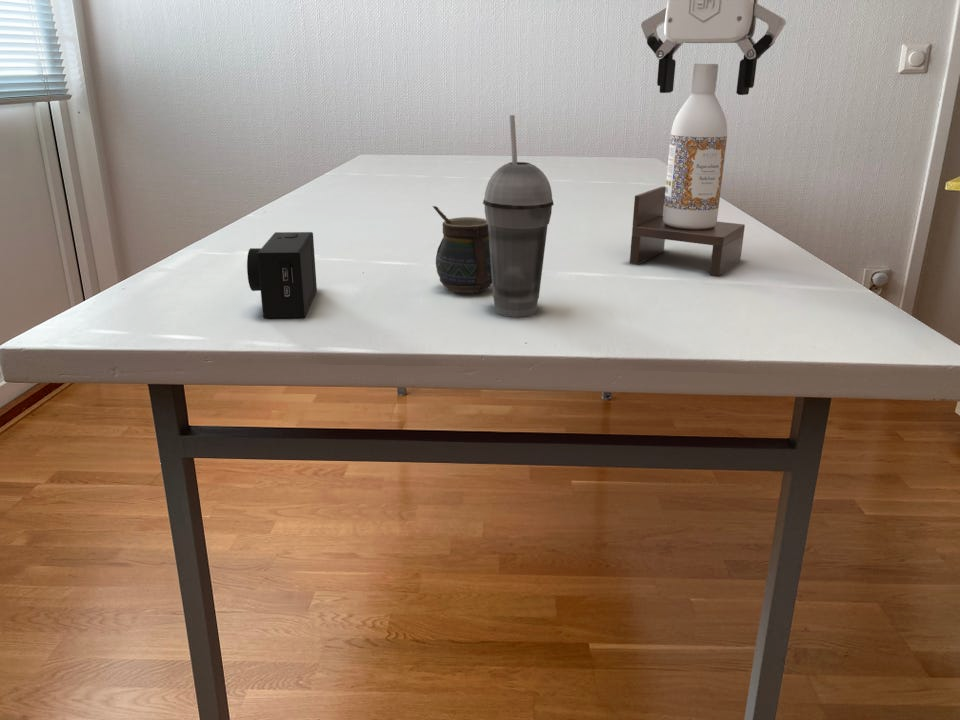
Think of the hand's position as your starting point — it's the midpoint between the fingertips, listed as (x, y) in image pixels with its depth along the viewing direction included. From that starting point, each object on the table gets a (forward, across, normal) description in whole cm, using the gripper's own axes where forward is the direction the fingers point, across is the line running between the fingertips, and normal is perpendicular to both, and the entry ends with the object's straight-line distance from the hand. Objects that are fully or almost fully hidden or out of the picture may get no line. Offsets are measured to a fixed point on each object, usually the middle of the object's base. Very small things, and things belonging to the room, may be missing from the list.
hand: (703, 93), depth 97 cm
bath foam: (+17, 0, 0) cm, 17 cm away
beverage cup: (+22, -8, -32) cm, 40 cm away
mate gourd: (+22, -17, -28) cm, 39 cm away
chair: (+22, 0, 0) cm, 22 cm away
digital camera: (+22, -30, -44) cm, 58 cm away
